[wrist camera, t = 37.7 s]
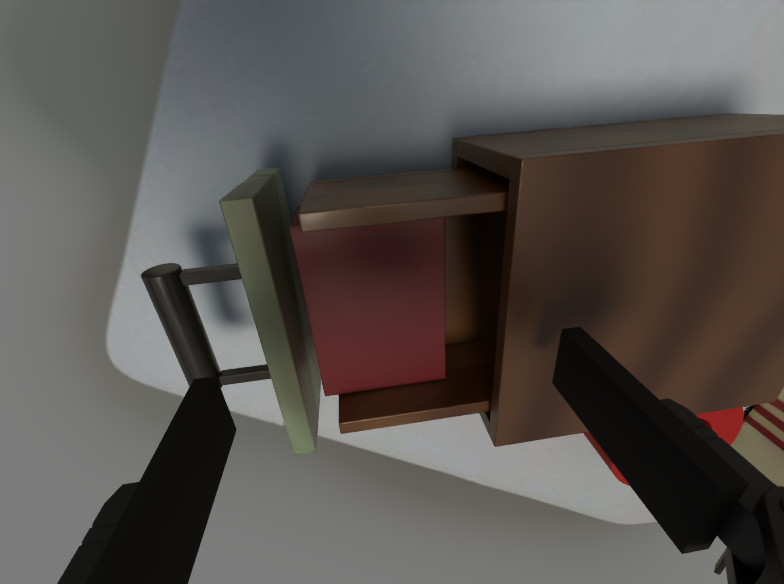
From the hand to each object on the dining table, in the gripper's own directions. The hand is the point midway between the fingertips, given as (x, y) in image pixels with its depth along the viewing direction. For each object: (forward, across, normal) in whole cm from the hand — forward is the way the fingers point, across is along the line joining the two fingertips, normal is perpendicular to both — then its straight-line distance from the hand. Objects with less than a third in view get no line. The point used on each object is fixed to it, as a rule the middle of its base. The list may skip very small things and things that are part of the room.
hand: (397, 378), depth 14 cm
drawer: (+10, 0, 0) cm, 10 cm away
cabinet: (+11, +14, 0) cm, 17 cm away
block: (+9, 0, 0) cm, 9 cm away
